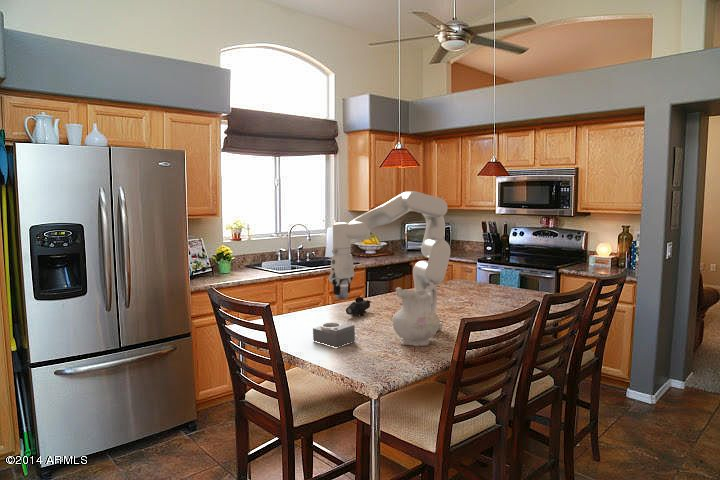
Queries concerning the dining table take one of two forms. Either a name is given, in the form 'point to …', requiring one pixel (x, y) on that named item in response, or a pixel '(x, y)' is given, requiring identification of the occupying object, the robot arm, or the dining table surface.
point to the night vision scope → (358, 307)
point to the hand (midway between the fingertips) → (341, 293)
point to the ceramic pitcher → (416, 316)
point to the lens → (343, 289)
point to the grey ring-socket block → (334, 334)
